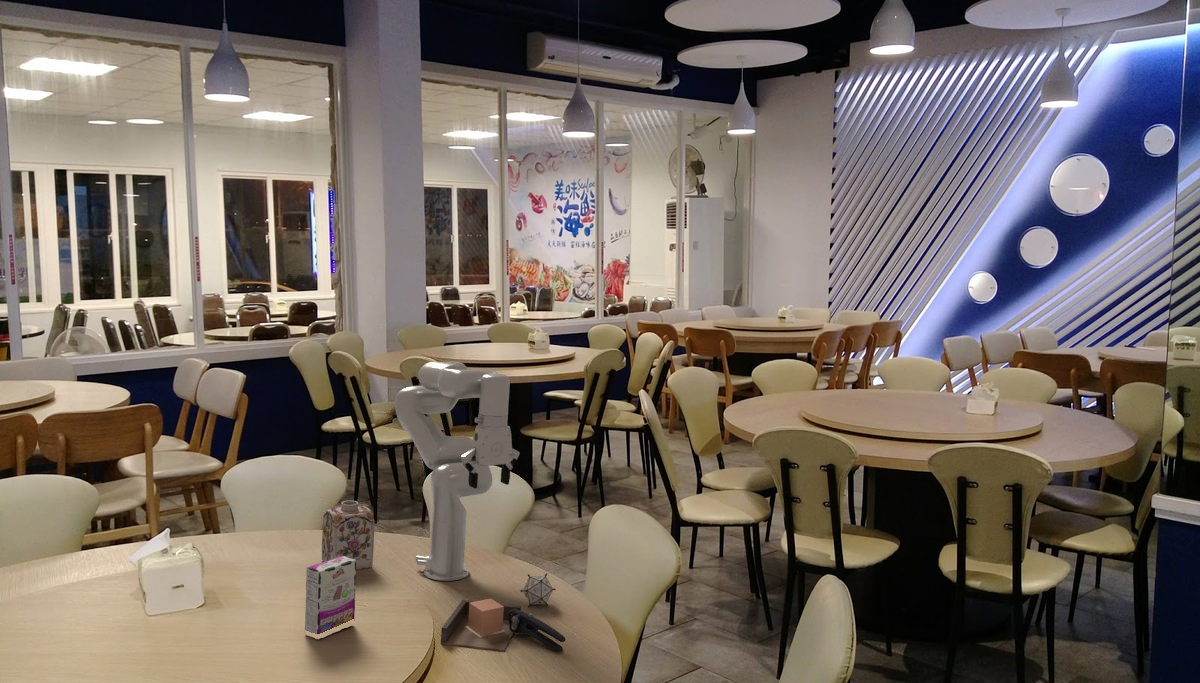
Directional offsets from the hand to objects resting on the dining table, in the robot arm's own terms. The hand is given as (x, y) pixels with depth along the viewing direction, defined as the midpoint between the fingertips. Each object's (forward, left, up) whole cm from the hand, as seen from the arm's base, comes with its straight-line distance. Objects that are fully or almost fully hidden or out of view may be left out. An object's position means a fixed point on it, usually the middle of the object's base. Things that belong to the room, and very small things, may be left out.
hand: (489, 485), depth 234 cm
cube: (+6, -21, -30) cm, 37 cm away
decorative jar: (-43, +13, -31) cm, 54 cm away
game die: (+15, -1, -31) cm, 34 cm away
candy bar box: (-29, -31, -31) cm, 52 cm away
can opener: (+19, -23, -30) cm, 43 cm away
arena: (+6, -22, -30) cm, 38 cm away
